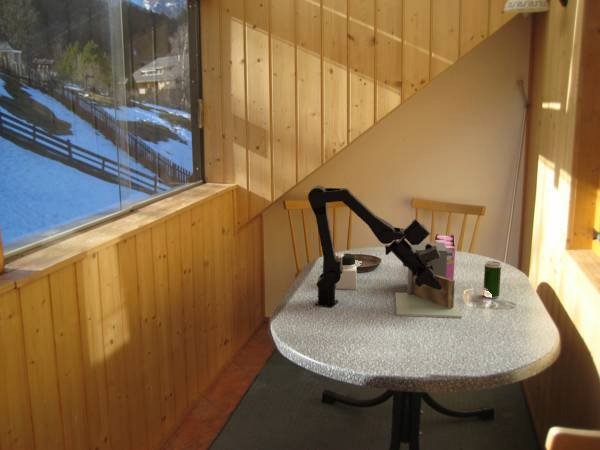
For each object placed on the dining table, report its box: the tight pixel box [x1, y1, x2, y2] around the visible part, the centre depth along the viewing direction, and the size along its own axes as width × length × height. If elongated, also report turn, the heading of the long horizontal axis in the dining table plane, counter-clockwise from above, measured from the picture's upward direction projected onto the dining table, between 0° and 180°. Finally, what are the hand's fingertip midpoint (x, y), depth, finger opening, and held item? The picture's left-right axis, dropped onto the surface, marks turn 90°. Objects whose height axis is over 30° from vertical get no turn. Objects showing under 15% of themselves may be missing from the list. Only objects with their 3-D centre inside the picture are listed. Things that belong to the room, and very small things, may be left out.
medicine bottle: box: [335, 253, 358, 290], centre depth 230 cm, size 7×7×12 cm
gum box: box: [433, 233, 456, 281], centre depth 245 cm, size 24×8×14 cm, turn 167°
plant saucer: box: [336, 253, 382, 273], centre depth 257 cm, size 21×21×3 cm
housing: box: [395, 241, 463, 319], centre depth 214 cm, size 34×20×16 cm, turn 172°
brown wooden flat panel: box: [413, 274, 455, 308], centre depth 211 cm, size 18×1×9 cm, turn 32°
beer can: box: [482, 260, 502, 300], centre depth 218 cm, size 5×5×12 cm
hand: (440, 288), depth 206 cm, fingers closed
